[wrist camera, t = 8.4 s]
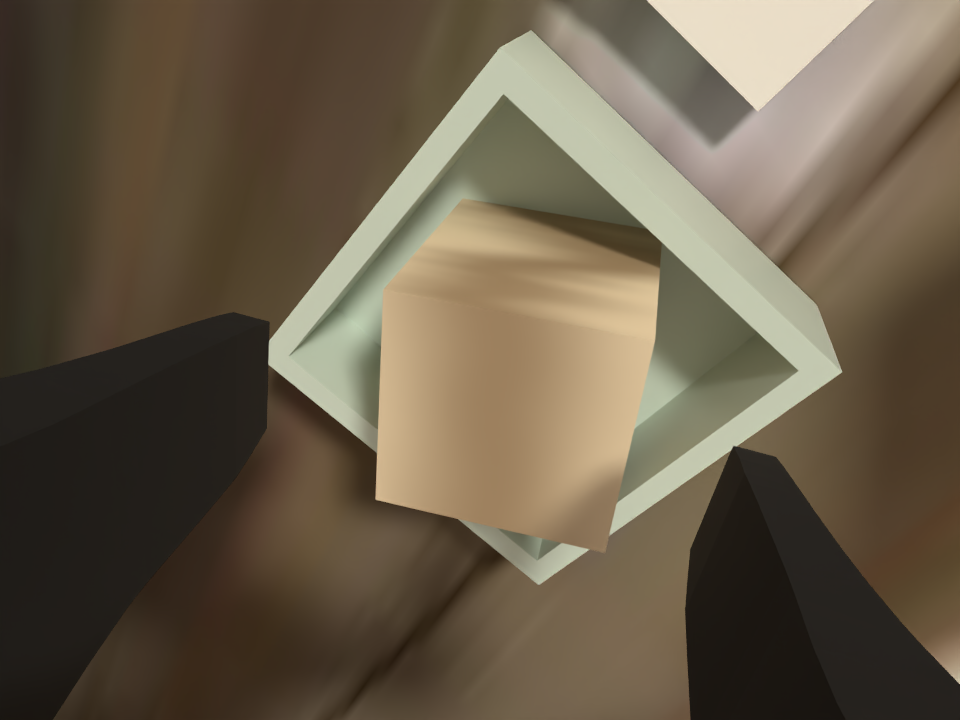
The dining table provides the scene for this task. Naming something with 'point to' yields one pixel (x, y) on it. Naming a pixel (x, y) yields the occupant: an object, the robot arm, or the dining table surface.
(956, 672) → the dining table surface
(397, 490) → the block
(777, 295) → the tray
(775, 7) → the crank board
